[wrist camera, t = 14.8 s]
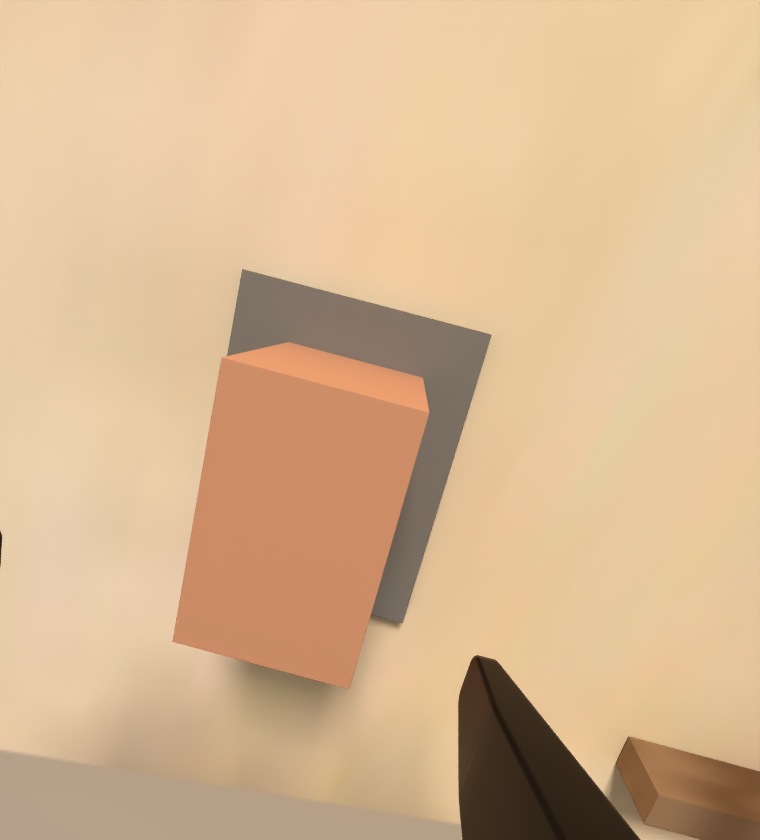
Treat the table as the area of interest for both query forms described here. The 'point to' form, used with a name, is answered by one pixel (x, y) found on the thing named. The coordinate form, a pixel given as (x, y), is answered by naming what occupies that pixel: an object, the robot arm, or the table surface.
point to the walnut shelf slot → (691, 792)
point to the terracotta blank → (298, 508)
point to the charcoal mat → (390, 348)
